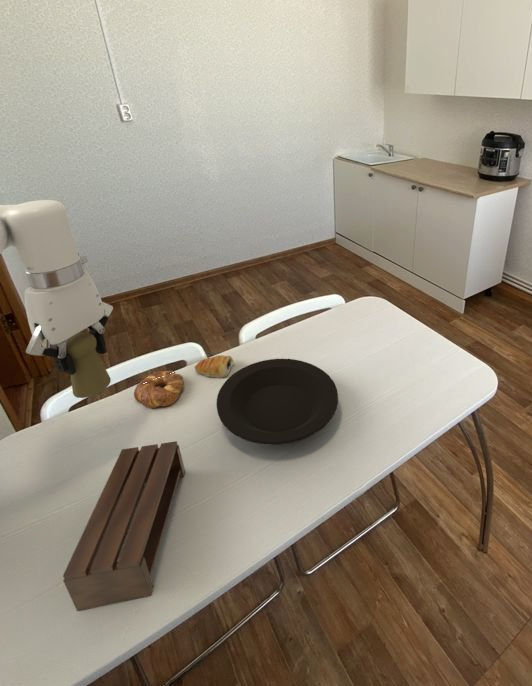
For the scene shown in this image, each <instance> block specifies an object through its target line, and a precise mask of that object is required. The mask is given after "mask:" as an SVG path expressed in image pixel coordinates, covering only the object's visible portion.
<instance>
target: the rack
mask: <svg viewBox="0 0 532 686" xmlns="http://www.w3.org/2000/svg"><path fill="white" fill-rule="evenodd" d="M185 473H186V469H185V465H184V461H183V456H182V452H181V448H180V444H178V441H177V440H174V441H168V442H162V443H160V445H159V444H158V443H155V444H148V445H142V446H141V447H140V449H139V447H138V446H136V447H128V448H123V449H121V450H120V453H119V454H118V457H117V459H116V461H115V464H114V466H113V468H112V470H111V472H110V474H109V476H108V478H107V480H106V482H105V485H104V487H103V489H102V491H101V493H100V496H99V497H98V500H97V502H96V504H95V507H94V509H93V511H92V513H91V515H90V517H89V518H88V521H87V523H86V525H85V527H84V530H83V532H82V533H81V536H80V539H79V540H78V542H77V545H76V546H75V549H74V551H73V552H72V555H71V557H70V560H69V561H68V564H67V566H66V568H65V570H64V573H63V575H62V577H63V584H64V585H65V588H66V590H67V592H68V594H69V597H70V598H71V601H72V604H73V605H74V608H75V610H76V611H77V612H80V611H84V610H89V609H93V608H98V607H102V606H103V607H104V606H108V605H112V604H117V603H122V602H125V601H126V602H127V601H132V600H136V599H141V598H147V597H151V596H152V594H153V591H154V587H155V586H154V583H153V579H152V574H153V571H154V568H155V564H156V561H157V557H158V554H159V551H160V547H161V543H162V539H163V536H164V532H165V530H166V526H167V522H168V520H169V519H168V518H169V515H170V511H171V508H172V504H173V500H174V497H175V493H176V490H177V487H178V484H179V480H180V478H184V477H185Z"/></svg>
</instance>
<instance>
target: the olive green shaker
mask: <svg viewBox="0 0 532 686" xmlns="http://www.w3.org/2000/svg"><path fill="white" fill-rule="evenodd" d="M96 343H97V341H96V338H95V337H94V336H93V335H92V334H91V333H89V332H79V333H77V334H75V335H74V336H72V337H70V338H68V339H67V348H66V353H67V354H70V355H71V357H72V360H73V363H74V366H75V369H76V373H74V374H73V375H70V383H71V389H72V395H73V396H74V397H75V398H77V399H85V398H90V397H94V396H96V395H97V394H99V393H101V392H103V391H104V390H106V389H107V388H108V387H109V386H110V384H111V381H112V380H111V379H112V378H111V377H110V376H111V375H110V374H109V373H108V371H107V369H106V367H105V365H104V362H103V361H102V359H101V357H100V355H99V353H97V352H96V350H95V348H96Z"/></svg>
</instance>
